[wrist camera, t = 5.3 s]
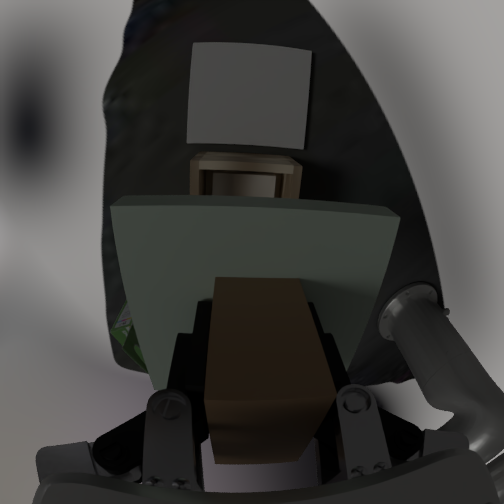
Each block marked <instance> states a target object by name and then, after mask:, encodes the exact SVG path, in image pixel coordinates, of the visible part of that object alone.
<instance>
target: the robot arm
mask: <svg viewBox="0 0 504 504" xmlns="http://www.w3.org/2000/svg"><path fill="white" fill-rule="evenodd" d="M307 303H308V306H309V309H310V311H311V314H312V317H313V320H314V323H315V326H316V329H317V332H318V335H319V338H320V341H321V344H322V347H323V351H324V354H325V357H326V360H327V363H328V366H329V369H330V372H331V376H332V379H333V382H334V385H335V389H336V392H337V396H336V398H335V400H334V402H333V403H332V405H331V407H330V409H329V411H328V412H327V414H326V416H325V418H324V419H323V421H322V423H321V425H320V426H319V428H318V430H317V431H316V433H315V435H314V436H313V437H314V443H315V456H316V469H317V482H318V483H317V484H318V486H314V487H308V488H300V489H292V490H283V491H271V492H252V493H219V492H205V490H204V479H203V468H202V455H201V443H202V442H204V441H205V440H206V439H208V437H209V428H208V422H207V416H206V410H205V404H204V391H205V378H206V366H207V354H208V343H209V332H210V322H211V312H212V301H198V303H197V309H196V315H195V321H194V327H193V333H178V334H177V338H176V342H175V347H174V352H173V357H172V362H171V367H170V372H169V377H168V382H167V387H166V389H162V390H159V391H157V392H155V393H154V394H153V395H152V396H151V397H150V398H149V400H148V403H147V409H146V411H144V412H142V413H141V414H139V415H137V416H135V417H134V418H132V419H130V420H129V421H127V422H125V423H123V424H121V425H120V426H118V427H116V428H114V429H112V430H111V431H109V432H107V433H105V434H103V435H101V436H100V437H99V438H97V439H96V441H95V442H91V443H88V442H87V441H85V442H78V443H71V444H65V445H56V446H47V447H44V448H41V449H40V450H39V451H38V452H37V455H36V466H37V472H38V477H39V482H40V485H39V486H38V489H37V491H36V493H35V496H34V499H33V503H32V504H504V453H503V454H501V455H500V456H498V457H497V458H495V459H494V460H493V461H491V462H490V463H488V464H487V465H486V464H485V463H487V462H488V461H489V460H491V459H492V458H493V457H495V456H496V455H497V454H498V453H500V452H501V451H502V450H503V449H504V393H503V391H502V390H501V389H500V388H499V387H498V386H497V385H496V383H495V382H494V381H493V380H492V378H491V377H490V376H489V375H488V373H487V372H486V371H485V369H484V368H483V366H482V365H481V364H480V362H479V361H478V359H477V358H476V356H475V355H474V354H473V352H472V351H471V349H470V348H469V347H468V345H467V344H466V343H465V341H464V340H463V339H462V337H461V336H460V335H459V333H458V332H457V330H456V329H455V328H454V327H453V325H452V324H451V323H450V321H449V319H448V318H447V317H446V315H449V312H450V310H449V309H448V308H445V309H441V307H440V306H439V305H438V304H437V293H436V291H435V289H434V288H433V287H432V286H431V285H430V284H428V283H425V282H417V283H412V284H410V285H407V286H405V287H404V288H402V289H400V290H399V291H398V292H396V293H395V294H394V295H393V296H392V297H391V298H390V299H389V300H388V301H387V302H386V304H385V305H384V307H383V308H382V310H381V312H380V314H379V317H378V322H377V326H378V330H379V332H380V334H381V335H382V336H383V337H384V338H385V339H387V340H394V341H395V342H396V344H397V346H398V348H399V349H400V351H401V353H402V355H403V357H404V358H405V360H406V362H407V364H408V366H409V368H410V369H411V371H412V373H413V375H414V377H415V379H416V381H417V382H418V385H419V387H420V389H421V391H422V392H423V395H424V397H425V398H426V400H427V402H428V403H429V404H430V405H431V406H432V407H434V408H436V409H439V410H444V411H450V412H453V413H454V416H453V417H452V418H451V419H450V420H449V421H448V422H446V424H444V425H443V426H442V427H440V428H439V429H437V430H430V429H425V430H424V431H421V430H420V429H419V428H418V427H417V426H416V425H414V424H412V423H410V422H408V421H406V420H404V419H402V418H400V417H398V416H396V415H393V414H392V413H389V412H388V411H386V410H383V409H382V408H379V407H378V406H377V404H376V400H375V397H374V396H373V393H372V392H371V391H370V390H369V389H367V388H366V387H364V386H361V385H357V384H351V383H350V380H349V377H348V375H347V372H346V369H345V366H344V364H343V361H342V358H341V356H340V353H339V350H338V348H337V345H336V342H335V340H334V337H333V335H332V334H331V333H324V331H323V328H322V325H321V322H320V320H319V317H318V314H317V311H316V309H315V306H314V304H313V302H307ZM141 482H142V484H139V483H141Z"/></svg>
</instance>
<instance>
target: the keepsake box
mask: <svg viewBox="0 0 504 504" xmlns="http://www.w3.org/2000/svg"><path fill="white" fill-rule="evenodd" d="M302 167H303V166H301V165H300V164H299V163H297V162H296V161H295V160H293V159H292V158H291V157H289V156H282V155H270V154H256V153H238V152H207V151H200V152H199V153H198V154H197V155H196V156H195V157H194V158H192V159H191V160H190V195H216V196H250V197H273V198H291V199H299V192H300V184H301V176H302Z"/></svg>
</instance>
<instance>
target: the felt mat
mask: <svg viewBox="0 0 504 504" xmlns="http://www.w3.org/2000/svg"><path fill="white" fill-rule="evenodd" d="M311 56H312V51H308V50H302V49H295V48H288V47H281V46H272V45H262V44H248V43H219V42H211V43H193V50H192V61H191V72H190V86H189V102H188V123H187V143H218V144H243V145H260V146H273V147H284V148H294V149H304V139H305V129H306V119H307V108H308V96H309V84H310V70H311Z"/></svg>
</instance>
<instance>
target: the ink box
mask: <svg viewBox="0 0 504 504" xmlns="http://www.w3.org/2000/svg"><path fill="white" fill-rule="evenodd" d="M110 332H111V334H112V335H113V336H114V337H115V338H116V339H117V340H118V341H119V342H120V343H121V345H122V346H123V347H122V349H123V350H124V351H125V352H126V353H127V354H128V355H129V356H130V357H131V358H132V359H133V360H134V361H135V362H136V363H137V364H138V365H139V366H140V367H141V368H143V369H144V370H145V371H146V372H147V373H148V370H147V367H146V364H145V361H144V358H143V355H142V352H141V349H140V345H139V342H138V339H137V335H136V332H135V328H134V325H133V321H132V317H131V314H130V310H129V306H128V302H127V300H126V302H125V303H124V305H123V307H122V309H121V311H120V313H119V315H118V317H117V319H116V321H115V323H114V325H113V327H112V329H111V331H110ZM148 374H149V373H148Z"/></svg>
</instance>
